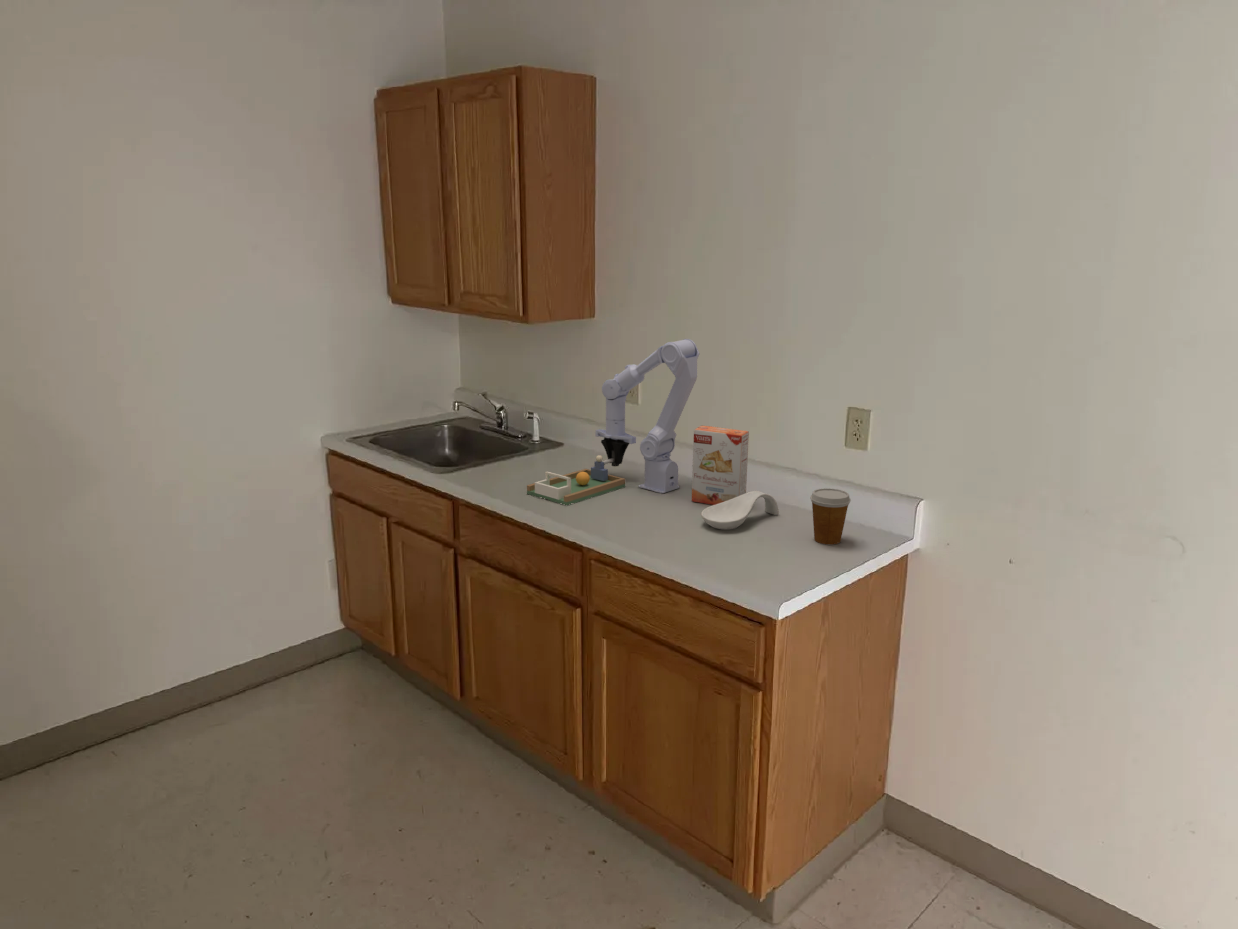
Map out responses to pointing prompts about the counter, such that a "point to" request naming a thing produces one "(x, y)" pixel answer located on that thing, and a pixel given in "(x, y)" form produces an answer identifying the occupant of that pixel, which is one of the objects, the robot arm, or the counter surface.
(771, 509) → the spoon rest
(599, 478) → the striker
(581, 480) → the ball
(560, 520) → the counter surface
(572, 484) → the pitch
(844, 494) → the disposable coffee cup
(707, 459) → the cracker box
